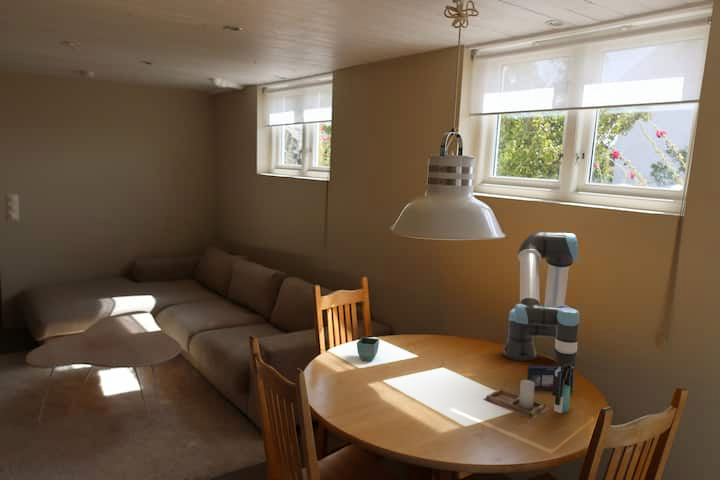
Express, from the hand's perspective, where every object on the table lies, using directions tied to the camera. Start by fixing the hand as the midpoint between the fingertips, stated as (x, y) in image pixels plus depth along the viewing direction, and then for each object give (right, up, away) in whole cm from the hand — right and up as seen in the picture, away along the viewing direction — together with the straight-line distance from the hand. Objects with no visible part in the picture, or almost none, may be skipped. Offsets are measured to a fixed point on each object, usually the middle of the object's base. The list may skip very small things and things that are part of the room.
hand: (561, 409), depth 193 cm
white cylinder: (-13, 0, +1) cm, 13 cm away
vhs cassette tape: (+2, +2, +19) cm, 19 cm away
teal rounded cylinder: (0, -1, 0) cm, 1 cm away
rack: (-16, 0, +4) cm, 17 cm away
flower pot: (-72, +7, +50) cm, 88 cm away
